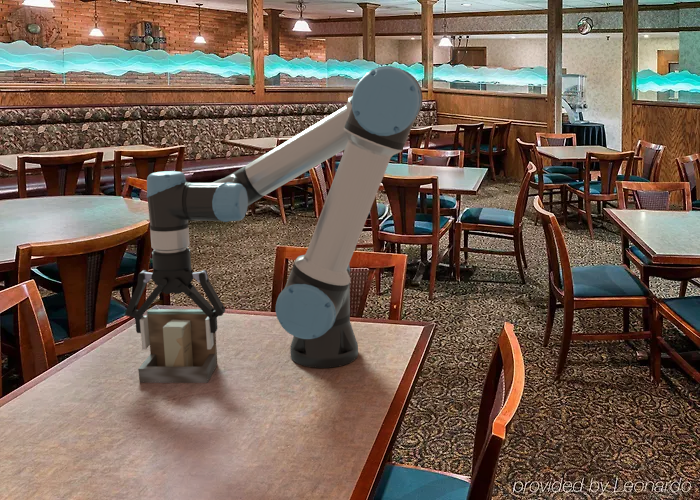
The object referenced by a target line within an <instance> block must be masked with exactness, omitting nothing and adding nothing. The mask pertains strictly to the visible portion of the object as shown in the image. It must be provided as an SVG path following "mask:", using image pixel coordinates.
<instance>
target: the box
mask: <svg viewBox="0 0 700 500" xmlns="http://www.w3.org/2000/svg"><path fill="white" fill-rule="evenodd" d="M163 338H164V352H165V366H166V367H193V356H192V340H191V324H190V320H171V321H170V322H168V323H167V324H166V325H165V326H164V327H163Z"/></svg>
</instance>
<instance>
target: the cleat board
mask: <svg viewBox="0 0 700 500" xmlns="http://www.w3.org/2000/svg"><path fill="white" fill-rule="evenodd" d="M146 316H148V328H149V340H150V345H149V350H150V352H149V353H150V354H149V355H148V357H146V359H145V360H144V361H143V363H142V364H141V365H140V366H139V368H138V370H137V372H138V379H139V381H138V383H140V384H141V383H142V384H143V383H145V384H146V383H153V384H154V383H156V384H157V383H159V384H160V383H161V384H163V383H167V384H168V383H171V384H172V383H174V384H175V383H176V384H177V383H180V384H181V383H183V384H185V383H187V384H189V383H193V384H194V383H195V384H197V383H200V384H201V383H205V384H206V383H207V384H208V383H209V380H210V379H211V377H212V375H213V373H214V372H215V370H216V368H217V366H218V352H217V351H218V350H217V333H216V332H217V331H216V332H215V333H213V341H214V345H213V347H212V348H211V349H207V338H206V322H205V319H206V318H207V317H208V316H207V315H206V314H205V313H204V312H203V311H202V310H201V309H200V308H192V309H191V308H187V309H186V308H185V309H184V308H182V309H181V308H180V309H179V308H178V309H177V308H176V309H175V308H174V309H172V308H171V309H170V308H169V309H167V308H164V309H163V308H162V309H161V308H160V309H159V308H155V309H154V308H153V309H150V308H148V309H147V310H146ZM171 320H190V324H191V340H192V356H193V367H166V366H165V352H164V338H163V327H164V326H165V325H166V324H167V323H168V322H170V321H171Z"/></svg>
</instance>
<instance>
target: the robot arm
mask: <svg viewBox="0 0 700 500" xmlns="http://www.w3.org/2000/svg"><path fill="white" fill-rule="evenodd" d="M422 106H423V91H422V87H421V85H420V83H419V81H418V80H417V79H416V78H415V76H413V75H412V74H411V73H410V72H408V71H406V70H404V69H402V68H400V67H394V66H392V65H386V66H379V67H376V68H373V69H371V70H369V71H368V72H366V73H365V74H364V75H363V76H362V77H361V78H360V80H358V82H357V83H356V85H355V87H354V89H353V93H352V95H351V96H350V97H348V99H347V101H346V105H345V106H342V107H341V108H339V109H338V110H336V111H335V112H333V113H331V114H330V115H328V116H326V117H325V118H323V119H321V120H320V121H318V122H316V123H315V124H312V125H311V126H310V127H308V128H306V129H304V130H303V131H301V132H299V133H297V134H296V135H294V136H292V137H291V138H289V139H288V140H286V141H284V142H283V143H281V144H280V145H278V146H276V147H274V148H273V149H271V150H270V151H267V152H266V153H264V154H262V155H261V156H259V157H258V158H256V159H254V160H253V161H250V163H247V164H246V165H245V166H243V167H241V168H239V169H238V170H235V171H234V172H232V173H230V174H229V175H227V176H225V177H223V178H221V179H217V180H215V181H213V182H190V181H187V179H186V175H185V173H184V172H182V171H176V170H175V171H173V170H171V171H170V170H169V171H157V172H152V173H150V174H149V175H148V176H147V178H146V199H147V206H148V208H147V209H148V219H149V229H150V230H149V232H150V245H151V248H152V249H153V250H152V252H151V258H152V259H151V261H152V270H153V271H152V272H149V271H147V270H146V269H143V270H142V271H141V272H139V273H138V274H137V284H136V286H135V289H134V291H133V293H132V296H131V298H130V300H129V302H128V305H127V307H126V310H125V312H124V314H125V316H127V317H132V318H134V321H135V322H134V324H135V331H136V333H137V334H140V341H141V349H142V350H147V349H148V348H149V347H150V340H149V328H148V316H147V315H144V314H145V313H146V312H147V311H148V310H149V309H150V308H149V307H151V305H152V304H153V302H154V301H155V300H156V299H157V298H158V296H159V295H160V294H161V293H164V294H165V295H170V294H175V295H181V294H182V293H184V294H185V296H187V297H189V298H190V300H192V301H193V303H195V305H196V306H198V309H201V310H202V311H203V312H204V313H205V314H206V315H207V316H208V317H207V318H206V319H205V322H206V338H207V349H211V348H212V347H213V345H214V341H213V333H215V332H217V330H218V317H222V316H223V315H224V314H225V312H226V308H225V306H224V304H223V302H222V300H221V299H220V297H219V295H218V293H217V291H216V290H215V288H214V287H213V285H212V283H211V281H210V280H209V275H208V271H207V270H206V269H203V270H202V271H197V272H196V271H195V272H194V271H193V269H192V262H191V261H192V259H191V249H190V231H189V230H190V228H189V227H190V226H189V221H208V222H210V221H212V222H223V223H228V222H236V221H237V222H239V221H242V220H244V218H245V216H246V213H247V212H248V207H249V206H250V205H252V204H253V203H254V202H257V201H258V200H260V199H261V198H263V197H264V196H266V195H268V194H270V193H271V192H273V191H275V190H277V189H278V188H280V187H282V186H283V185H285V184H287V183H288V182H291V181H292V180H294V179H296V178H297V177H300V176H301V175H302V174H305V173H306V172H308V171H310V170H311V169H313V168H315V167H317V166H318V165H320V164H322V163H323V162H325V161H327V160H329V159H330V158H332V157H334V156H336V155H337V154H339V153H341V152H343V153H342V156H341V158H340V161H339V164H338V167H337V170H336V172H335V174H334V177H333V181H332V183H331V186H330V188H329V190H328V193H327V196H326V199H325V201H324V204H323V206H322V209H321V212H320V215H319V217H318V221H317V223H316V225H315V228H314V231H313V234H312V236H311V239H310V242H309V244H308V247H307V249H306V251H305V254H302V255H298V256H297V258H296V259H294V262H293V265H292V268H291V271H290V273H289V275H288V279H287V281H286V284H285V286H284V288H283V289H282V290H281V291H280V293H278V297H277V299H276V302H275V303H276V304H275V315H276V318H277V320H278V322H279V324H280V326H281V328H282V329H284V331H285V332H287V333H288V334H290V335H291V336H293V337H292V341H291V343H290V348H289V349H290V358H291V360H292V361H293V362H294V363H296V364H298V365H301V366H302V367H303V366H304V367H308V368H309V367H310V368H314V369H315V368H318V369H319V368H320V369H322V368H323V369H326V368H327V369H329V368H337V367H341V366H345V365H348V364H351V363H352V362H354V361H355V360H356V359H357V358H358V356H359V345H358V341H357V338H356V336H355V331H354V330H353V326H352V324H351V307H350V305H351V296H350V295H351V294H350V292H351V291H350V285H351V277H350V272H351V268H350V263H351V260H352V257H353V255H354V252H355V251H356V250H355V249H356V248H357V245H358V242H359V240H360V237H361V234H362V232H363V229H364V227H365V224H366V221H367V219H368V216H369V214H370V211H371V209H372V207H373V204H374V201H375V199H376V196H377V194H378V191H379V189H380V186H381V183H382V181H383V178H384V177H385V173H386V170H387V167H388V166H389V163H390V160H391V158H392V157H393V156H394V155H397V154H399V153H402V152H403V150H404V147H405V145H406V142H407V140H408V137H409V135H410V132H411V130H412V127H413V125H414V122H415V120H416V118H417V116H419V114H420V111H421V109H422ZM194 279H195V280H196V282H197V283H199V284H200V287H201V288H202V290H203V292H204V293H205V295H206V297H207V299H208V300H209V301H208V300H207V299H205V297H204V296H203V295H202V294H201V293H200V292H199V291H198V290H197V289H196V286H195V285H194V284H193V283H192V281H193V280H194ZM151 280H152V281H153V283H154V284H155V285H156V286H155V288H154V289H153V291H152V292H151V293H150V295H149V296H148V297H147V298H146V299H145V301H144V302H143V303H142V305H141V306H140V308H138V309H136V308H137V307H138V304H139V302H140V299H141V297H142V296H143V293H144V290H145V288H146V285H147V283H149V282H150V281H151Z"/></svg>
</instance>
